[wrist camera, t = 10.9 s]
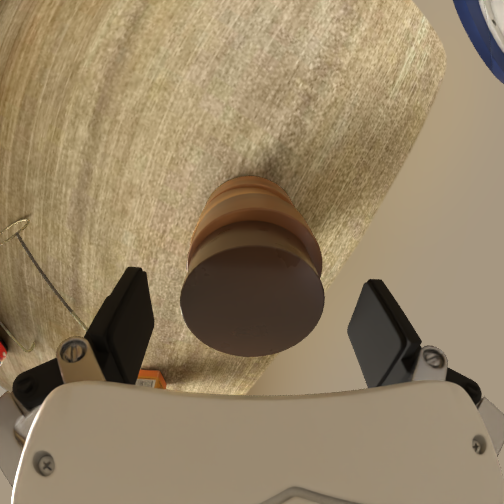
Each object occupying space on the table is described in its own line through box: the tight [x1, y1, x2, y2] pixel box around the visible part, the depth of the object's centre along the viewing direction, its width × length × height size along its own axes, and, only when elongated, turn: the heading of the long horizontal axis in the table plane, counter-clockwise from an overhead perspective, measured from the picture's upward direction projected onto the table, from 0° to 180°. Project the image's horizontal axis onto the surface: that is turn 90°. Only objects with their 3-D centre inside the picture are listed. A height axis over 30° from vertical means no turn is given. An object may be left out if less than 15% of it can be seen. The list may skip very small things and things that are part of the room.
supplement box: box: [136, 370, 166, 389], centre depth 24 cm, size 3×3×10 cm
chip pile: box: [186, 176, 322, 278], centre depth 16 cm, size 7×7×7 cm
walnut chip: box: [180, 221, 325, 357], centre depth 12 cm, size 6×6×2 cm
